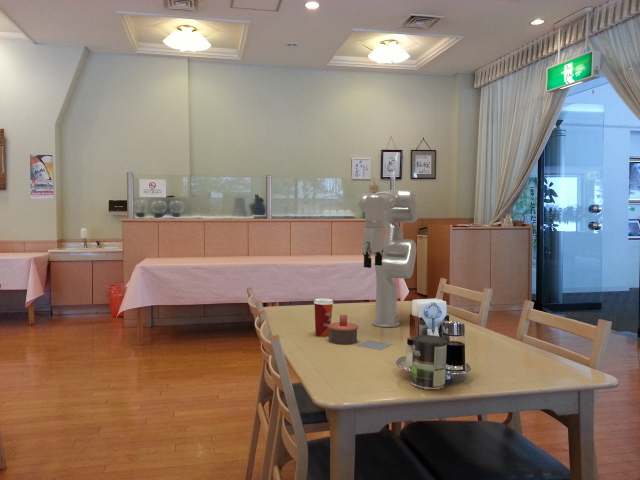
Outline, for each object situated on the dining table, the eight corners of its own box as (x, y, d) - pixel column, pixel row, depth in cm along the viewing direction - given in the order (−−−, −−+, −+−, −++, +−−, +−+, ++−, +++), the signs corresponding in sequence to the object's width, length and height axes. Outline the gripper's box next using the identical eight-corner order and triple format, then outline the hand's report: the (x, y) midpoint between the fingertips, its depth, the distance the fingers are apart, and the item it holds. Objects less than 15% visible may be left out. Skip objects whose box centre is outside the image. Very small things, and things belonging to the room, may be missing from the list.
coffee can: (416, 390, 159) (417, 342, 158) (407, 379, 169) (409, 334, 169) (450, 390, 160) (452, 343, 159) (439, 379, 170) (441, 334, 170)
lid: (337, 323, 223) (338, 311, 223) (363, 326, 217) (364, 315, 216) (322, 327, 213) (322, 315, 213) (349, 332, 207) (349, 319, 206)
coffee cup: (330, 338, 222) (331, 301, 221) (310, 336, 224) (311, 300, 223) (334, 333, 230) (335, 298, 229) (315, 332, 232) (316, 297, 231)
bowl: (337, 338, 222) (338, 323, 222) (360, 341, 217) (360, 327, 216) (324, 342, 213) (325, 327, 213) (347, 347, 208) (348, 331, 208)
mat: (368, 341, 217) (368, 340, 217) (393, 345, 212) (393, 344, 212) (355, 347, 208) (355, 345, 208) (381, 351, 202) (381, 350, 202)
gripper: (375, 224, 232) (374, 263, 233) (355, 225, 218) (354, 267, 219) (391, 224, 228) (390, 265, 229) (372, 226, 214) (371, 269, 215)
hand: (373, 266), depth 224 cm, fingers open, 9 cm apart
